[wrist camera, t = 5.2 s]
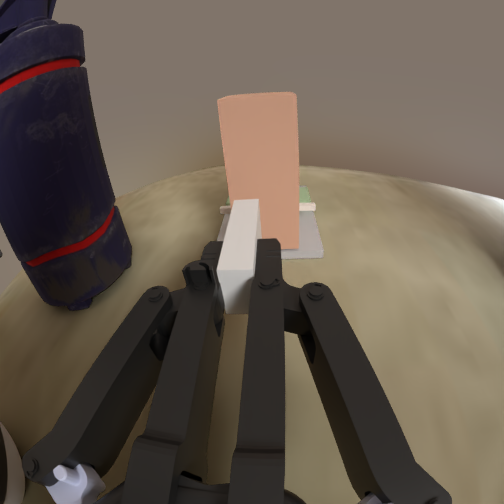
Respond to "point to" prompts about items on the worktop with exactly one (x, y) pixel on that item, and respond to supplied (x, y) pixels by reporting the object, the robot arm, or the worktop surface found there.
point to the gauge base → (307, 232)
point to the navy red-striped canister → (54, 161)
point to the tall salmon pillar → (264, 160)
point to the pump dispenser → (10, 470)
